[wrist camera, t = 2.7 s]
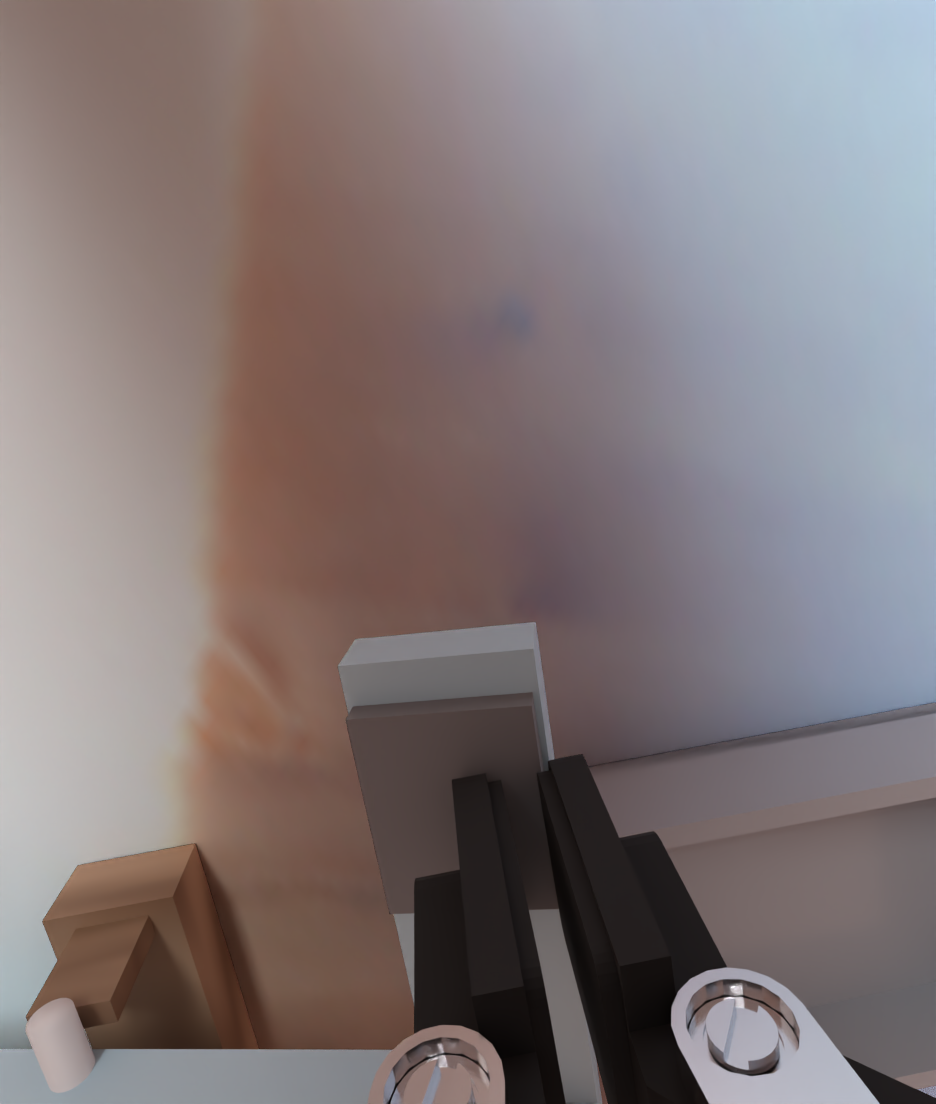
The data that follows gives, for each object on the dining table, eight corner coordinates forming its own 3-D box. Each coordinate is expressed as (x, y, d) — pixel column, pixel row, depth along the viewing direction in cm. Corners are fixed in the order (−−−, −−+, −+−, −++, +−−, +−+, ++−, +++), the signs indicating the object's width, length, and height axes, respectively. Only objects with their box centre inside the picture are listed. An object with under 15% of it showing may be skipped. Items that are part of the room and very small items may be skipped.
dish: (567, 770, 20) (605, 870, 16) (966, 696, 21) (1095, 776, 17) (604, 1048, 23) (644, 1187, 19) (953, 977, 23) (1062, 1100, 20)
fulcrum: (77, 865, 20) (-14, 1008, 15) (194, 843, 20) (137, 980, 15) (175, 1131, 22) (121, 1315, 18) (278, 1111, 23) (248, 1289, 18)
